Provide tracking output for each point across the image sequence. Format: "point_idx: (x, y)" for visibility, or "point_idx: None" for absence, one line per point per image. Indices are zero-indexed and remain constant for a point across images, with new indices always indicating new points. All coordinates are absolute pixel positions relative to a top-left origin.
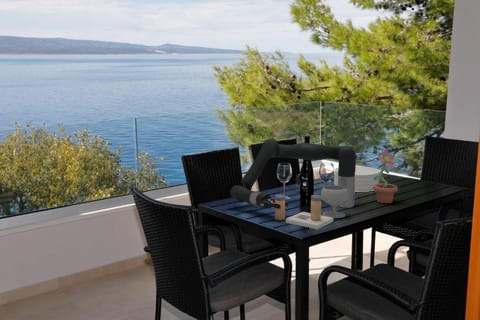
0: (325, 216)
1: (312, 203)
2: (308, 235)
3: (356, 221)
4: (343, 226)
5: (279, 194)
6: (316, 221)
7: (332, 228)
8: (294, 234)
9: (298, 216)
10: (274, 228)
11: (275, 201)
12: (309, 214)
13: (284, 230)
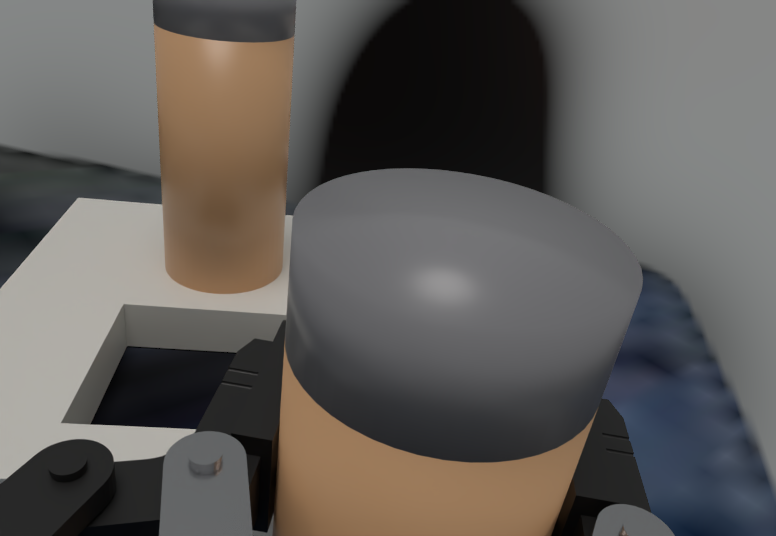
0: (55, 236)
1: (288, 76)
2: None
3: (8, 158)
4: None
5: (341, 280)
6: (289, 247)
7: (289, 210)
8: (653, 322)
9: (157, 437)
10: (753, 530)
11: (580, 453)
12: (16, 352)
13: (672, 416)
